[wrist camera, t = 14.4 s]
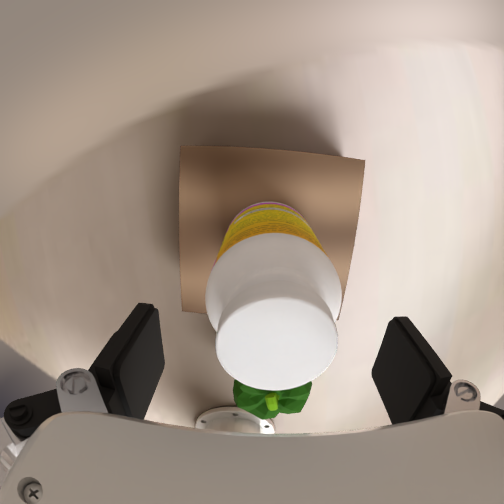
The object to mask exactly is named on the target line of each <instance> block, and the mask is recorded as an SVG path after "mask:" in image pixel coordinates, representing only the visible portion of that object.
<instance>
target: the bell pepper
mask: <svg viewBox="0 0 504 504" xmlns="http://www.w3.org/2000/svg"><path fill="white" fill-rule="evenodd" d="M311 386H312V382H311V381H310V382H308V383H306V384H304V385H301V386H298V387H295V388H291V389H286V390H263V389H257V388H253V387H250V386H247V385H245V384H243V383H241V382H239V381H238V380H236V379H235V380H234V387H233V394H234V401H235V403H236V405H237V406H238V407H239V408H241V409H243V410H245V411H247V412H249V413H251V414H253V415H255V416H256V417H258V418H260V419H262V420H264V419H270V418H275V417H276V416H277V414H278V413H279V412H280V413H286V414H290V413H299V412H301V410H302V408H303V406H304V405H305V403H306V401H307V399H308V396H309V394H310V390H311Z"/></svg>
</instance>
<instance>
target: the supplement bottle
mask: <svg viewBox="0 0 504 504" xmlns="http://www.w3.org/2000/svg"><path fill="white" fill-rule="evenodd" d="M205 301H206V309H207V314H208V317H209V319H210V322H211V324H212V326H213V328H214V329H215V331H216V332H217V333H216V338H215V349H216V354H217V357H218V360H219V362H220V364H221V365H222V367H223V368H224V369H225V370H226V372H227V373H228V374H229V375H231V376H232V377H233V378H235V379H236V380H238V381H239V382H241V383H243V384H245V385H247V386H250V387H253V388H257V389H263V390H286V389H291V388H295V387H298V386H301V385H304V384H306V383H308V382H310V381H312V380H313V379H315V378H317V377H318V376H319V375H320V374H322V373H323V372H324V371H325V370H326V369H327V368H328V366H329V365H330V363H331V362H332V360H333V358H334V356H335V354H336V351H337V347H338V333H337V328H336V325H335V322H336V320H337V317H338V315H339V311H340V307H341V301H342V291H341V284H340V280H339V277H338V274H337V272H336V269H335V268H334V266H333V264H332V262H331V261H330V259H329V257H328V256H327V254H326V253H325V251H324V249H323V248H322V246H321V244H320V243H319V241H318V239H317V238H316V236H315V234H314V233H313V231H312V229H311V228H310V226H309V224H308V223H307V221H306V220H305V219H304V218H303V216H302V215H301V214H300V213H299V212H297V211H296V210H295V209H293V208H292V207H290V206H288V205H285V204H282V203H278V202H260V203H256V204H253V205H251V206H249V207H247V208H245V209H244V210H242V211H241V212H240V213H239V214H238V215H237V216H236V217H235V218H234V219H233V221H232V222H231V224H230V225H229V228H228V230H227V232H226V235H225V237H224V240H223V242H222V245H221V248H220V250H219V253H218V255H217V258H216V261H215V263H214V266H213V268H212V271H211V273H210V276H209V279H208V282H207V287H206V294H205Z"/></svg>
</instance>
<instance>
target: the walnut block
mask: <svg viewBox="0 0 504 504" xmlns="http://www.w3.org/2000/svg"><path fill="white" fill-rule="evenodd" d="M364 168H365V160H360V159H354V158H347V157H340V156H333V155H326V154H318V153H309V152H300V151H290V150H279V149H266V148H250V147H230V146H181V147H180V175H179V251H180V280H181V300H182V311H186V312H196V313H206V314H207V309H206V301H205V294H206V287H207V282H208V279H209V276H210V273H211V271H212V268H213V266H214V263H215V261H216V258H217V255H218V253H219V250H220V248H221V245H222V242H223V240H224V237H225V235H226V232H227V230H228V228H229V225H230V224H231V222H232V221H233V219H234V218H235V217H236V216H237V215H238V214H239V213H240V212H241V211H242V210H244V209H245V208H247V207H249V206H251V205H253V204H256V203H260V202H278V203H282V204H285V205H288V206H290V207H292V208H293V209H295V210H296V211H297V212H299V213H300V214H301V215H302V216H303V218H304V219H305V220H306V221H307V223H308V224H309V226H310V228H311V229H312V231H313V233H314V234H315V236H316V238H317V239H318V241H319V243H320V244H321V246H322V248H323V249H324V251H325V253H326V254H327V256H328V257H329V259H330V261H331V262H332V264H333V266H334V268H335V269H336V272H337V274H338V277H339V280H340V284H341V291H342V301H341V307H342V303H343V298H344V294H345V289H346V284H347V279H348V274H349V269H350V264H351V259H352V253H353V248H354V242H355V236H356V230H357V223H358V217H359V210H360V202H361V194H362V186H363V177H364ZM341 307H340V311H341ZM340 311H339V315H340ZM339 315H338V317H337V320H339Z"/></svg>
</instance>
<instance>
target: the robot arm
mask: <svg viewBox="0 0 504 504" xmlns="http://www.w3.org/2000/svg"><path fill="white" fill-rule="evenodd" d="M164 365H165V360H164V353H163V346H162V338H161V330H160V321H159V312H158V309H157V308H154V306H153V304H146V303H138V304H137V306H136V307H135V308H134V310H133V311H132V312H131V314H130V315H129V316H128V318H127V319H126V320H125V322H124V323H123V325H122V326H121V327H120V329H119V330H118V331H117V332H115V333H114V334H113V336H112V337H111V338H110V340H109V341H108V343H107V344H106V345H105V347H104V348H103V350H102V351H101V352H100V354H99V355H98V357H97V358H96V360H95V361H94V362H93V364H92V365H91V367H90V368H89V370H85V369H80V368H75V369H70V370H67V371H65V372H64V373H62V374H61V375H60V376H59V377H58V379H57V382H56V389H54V390H50V391H47V392H44V393H40V394H36V395H33V396H29V397H25V398H21V399H17V400H15V401H13V402H11V403H10V404H9V405H8V406H7V407H6V409H5V412H4V417H3V418H0V504H504V410H501V409H499V408H496V407H494V406H491V405H489V404H486V403H484V402H481V401H480V397H481V396H480V391H479V389H478V388H477V387H476V386H475V385H474V384H473V383H471V382H469V381H467V380H456V381H454V382H453V383H451V382H450V379H451V377H452V375H451V373H450V372H449V370H448V369H447V368H446V366H445V365H444V364H443V362H442V361H441V359H440V358H439V357H438V355H437V354H436V353H435V351H434V350H433V349H432V347H431V346H430V345H429V344H428V342H427V341H426V340H425V338H424V337H423V336H422V334H421V333H420V332H419V331H418V329H417V328H416V327H415V326H414V324H413V323H412V322H411V321H410V319H409V318H408V317H394V318H393V319H392V320H391V321H389V323H388V326H387V329H386V332H385V335H384V338H383V341H382V344H381V347H380V350H379V352H378V355H377V358H376V360H375V363H374V366H373V368H372V378H373V380H374V382H375V385H376V387H377V389H378V392H379V394H380V396H381V399H382V401H383V403H384V406H385V408H386V410H387V413H388V415H389V418H390V420H391V423H392V425H387V426H381V427H374V428H366V429H358V430H349V431H338V432H324V433H303V434H275V426H274V424H273V422H272V421H271V420H270V419H264V420H262V419H260V418H258V417H256V416H255V415H253V414H251V413H249V412H247V411H245V410H243V409H241V408H239V407H219V408H214V409H211V410H208V411H206V412H204V413H202V414H201V415H200V416H199V417H198V418H197V421H196V425H195V428H191V427H184V426H177V425H170V424H164V423H158V422H153V421H148V420H144V417H145V415H146V412H147V410H148V407H149V405H150V402H151V399H152V397H153V394H154V392H155V389H156V387H157V384H158V382H159V379H160V377H161V374H162V372H163V369H164Z"/></svg>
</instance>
